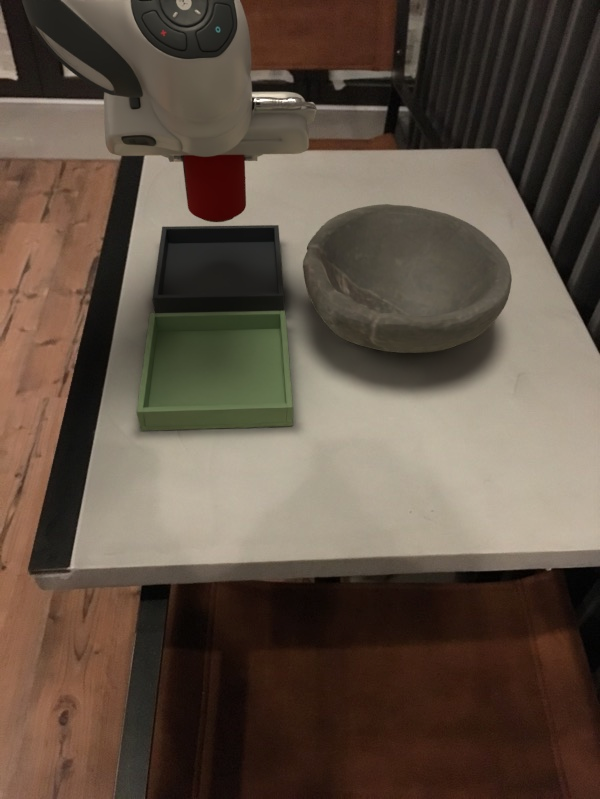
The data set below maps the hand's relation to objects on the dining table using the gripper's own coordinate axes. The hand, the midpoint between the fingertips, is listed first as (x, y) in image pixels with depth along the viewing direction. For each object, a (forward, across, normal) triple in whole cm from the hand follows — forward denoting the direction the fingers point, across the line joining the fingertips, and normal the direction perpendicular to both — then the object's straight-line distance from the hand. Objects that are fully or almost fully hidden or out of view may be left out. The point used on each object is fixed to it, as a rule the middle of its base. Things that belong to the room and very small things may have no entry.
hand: (213, 154), depth 75 cm
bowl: (+4, -21, +19) cm, 28 cm away
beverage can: (+4, 0, +5) cm, 7 cm away
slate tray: (+11, 0, +12) cm, 16 cm away
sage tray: (-1, 0, +24) cm, 24 cm away
